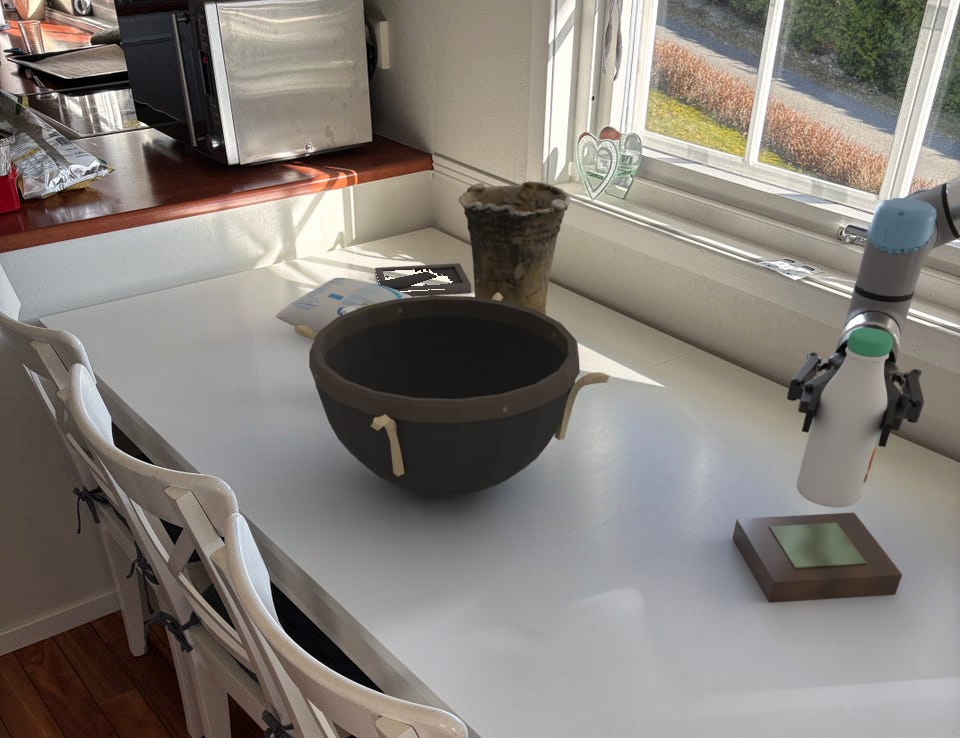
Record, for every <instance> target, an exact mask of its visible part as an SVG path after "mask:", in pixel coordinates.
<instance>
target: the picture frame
mask: <svg viewBox="0 0 960 738" xmlns="http://www.w3.org/2000/svg"><path fill="white" fill-rule="evenodd" d="M413 269H414V270H415V272H417V271H419V270H421V272H423V269H426V271H428V272H423V273H418V274H413V275H409V276H404V277H399V278H395V279H390V280H385V277H387V278H388V277H389V276H385V277H384V274H383V271H395V270H413ZM429 269H430V270H431V271H432V272H433V273H437V275H438V276H442V275H443V276H448V279H450V281H453V282H452V283H451V284H450V283H448V284H440V285H427V284H425V285H423V286H411V285H414V284H417V283H420V282H423V281H426V280H429V279H432V278H436V277H437V276H436V275H434V274H431V273H429ZM375 271H376V272H375ZM374 273H375V275H374V276H375V279H376V283H377V284H378V285H381V286H385V287H388V288H392V289H395V290H398V291H408V290H428V289H430V290H428V291H411V292H403V293H405V294H408V295H410V296H412V297H423V296H444V295H458V294H472V283H471V281H470V280H469V278H468V276H467V274H466V273H465V271H464V269H463V267H462V265H461V263H460V262H457V263H456V262H455V263H440V264H419V265H418V264H417V265H402V266H401V265H400V266H382V267H381V266H380V267H374ZM376 274H377V275H376ZM441 274H442V275H441ZM377 277H378V278H377ZM378 280H379V281H378ZM379 283H380V284H379ZM431 289H445V290H431Z"/></svg>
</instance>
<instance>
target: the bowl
mask: <svg viewBox="0 0 960 738" xmlns="http://www.w3.org/2000/svg"><path fill="white" fill-rule="evenodd" d="M502 299H503V296H502V295H501V294H500V293H496V294H495V295H494V296H493V298H492V299H485V298H478V297H475V296H467V295H464V296H463V295H426V296H412V298H402V299H394V300H390V301H385V302H381V303H377V304H372V305H368V306H364V307H361V308H359V309H356V310H354V311H351V312H349V313H347V314H344V315H342V316H339V317H337V318H336V319H334V320H333V321H332V322H331V323H329V324H328V325H327V326H326V327H324V328H323V329H322V330H320V331H319V332H318V333H315V332H314V331H313V330H312V329H311V328H309V327H307V326H304V325H302V326H293V328H294V333H295V334H297V335H300V336H303V337H305V338H307V339H310V340H312V344H311V347H310V348H309V349H310V350H309V351H308V353H309V354H308V356H309V357H308V367H309V371H310V372H311V376H312V378H313V381H314V385H315V388H316V391H317V393H318V394H317V395H318V396H319V399H320V402H321V405H322V407H323V410H324V413H325V416H326V418H327V422H328V424H329V425H330V427H331V429H332V431H333V433H334V434H335V436H336V437H337V439H338V441H339V442H340V443H341V444H342V445H343V446H344V448H345V449H346V450H347V451H348V452H349V453H350V454H351V455H352V456H353V457H354V458H355V459H356V460H357V461H359V462H360V463H361V464H362V465H363V466H365V467H366V468H367V469H368V470H370V472H372V473H373V474H374V475H376V476H377V477H378V478H380V479H382V480H385V481H387V482H389V483H390V484H393V485H395V486H398V487H400V488H402V489H406V490H407V491H411V492H417V493H421V494H426V495H433V496H457V495H465V494H470V493H477V492H480V491H483V490H486V489H490V488H493V487H496V486H498V485H500V484H502V483H505V482H506V481H507V480H509V479H511V478H512V477H513V476H515V475H517V474H518V473H520V472H521V471H523V470H524V469H526V468H527V467H528V466H529V465H530V464H532V463H533V462H534V461H535V460H537V458H539V456H540V455H541V453H542V452H543V451H544V450H545V449H546V448H547V447H548V445H549V444H550V442H551V440H552V439H553V437H554V438H555V439H557V440H558V441H562V440H565V438H566V433H567V429H568V426H569V423H570V419H571V415H572V410H573V407H574V403H575V401H576V398H577V396H578V394H579V392H580V390H581V389H582V388H584V387H586V386H588V385H589V386H590V385H596V384H607V383H608V381H609V378H610V375H609V374H607V373H605V372H601V371H597V372H590V373H588V374H585V375H583V376H582V377H580V378H579V379H577V378H578V376H579V375H580V373H581V371H580V370H581V369H580V367H581V366H580V353H579V346H578V340H577V339H576V338H575V337H574V336H573V335H572V333H571V332H570V331H569V330H568V329H567V328H566V327H565V326H564V324H562V322H560V321H558V320H556V319H554V318H553V317H550V316H548V315H547V314H546V315H545V314H543V313H541V312H539V311H537V310H534V309H530V308H527V307H523V306H520V305H516V304H513V303H510V302H506V301H501V300H502Z"/></svg>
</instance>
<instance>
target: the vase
mask: <svg viewBox="0 0 960 738" xmlns="http://www.w3.org/2000/svg"><path fill="white" fill-rule="evenodd" d="M466 189H467V190H466V191H464V192H463V193H462V194H461V195H460V196H459V198H458V203H459V204H460V205H461V206H462V208H463V210H464V212H463V213H464V216H465V218H466V221H467V230H468V232H469V238H470V246H471V256H472V267H473V268H472V270H473V282H474V283H473V284H474V288H473V289H474V297H478V298H485V299H492V298H493V296H494V295H495V294H496V293H500V294H501V295H502V296H503V299H502V300H501V301H506V302H510V303H513V304H516V305H520V306H523V307H527V308H530V309H534V310H537V311H539V312H541V313H543V314H545V315H547V297H548V289H549V281H550V275H551V269H552V265H553V260H554V255H555V251H556V246H557V241H558V235H559V233H560V231H561V226H562V223H563V219H564V218H565V212H566V211H568V208H569V205H570V204H571V200H572V199H571V197H570V196H569V195H568V194H567V193H566V191H565V190H564V189H563V188H560V187H557V186H554V185H552V184H549V183H545V182H541V181H531V180H528V181H525V182H522V183H521V184H513V185H492V186H491V185H490V186H485V184H484V182H480V183H475V184H473V185H470V186H469V187H468V188H466Z"/></svg>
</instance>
